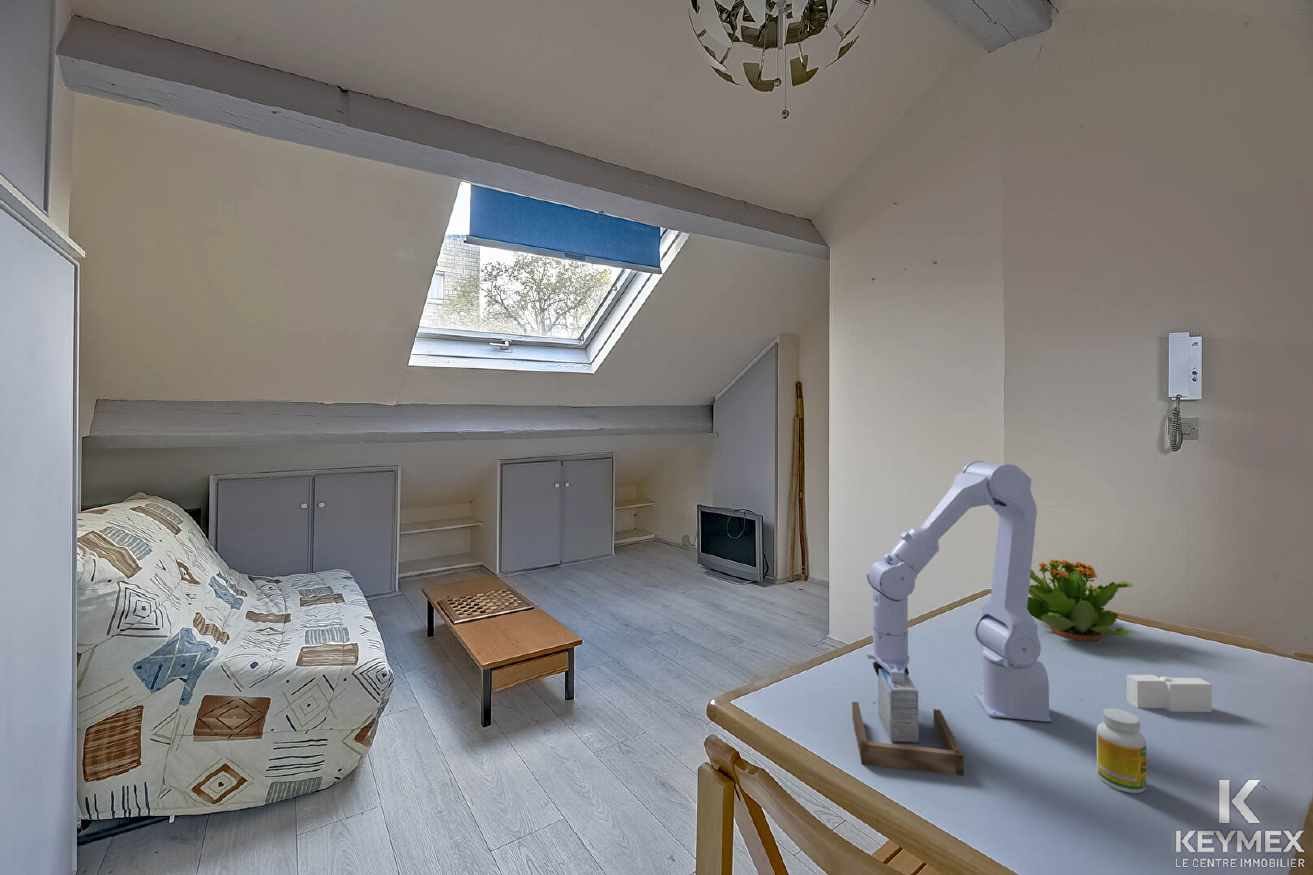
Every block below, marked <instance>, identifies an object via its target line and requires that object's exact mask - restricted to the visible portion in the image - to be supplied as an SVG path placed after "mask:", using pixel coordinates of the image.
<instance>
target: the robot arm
mask: <svg viewBox="0 0 1313 875" xmlns="http://www.w3.org/2000/svg"><path fill="white" fill-rule="evenodd" d="M1031 486H1032V478H1031V477H1030V476H1029V475H1028V474H1027V473H1026V472H1025V471H1024V470H1022V469H1021V468H1020V467H1019V466H1017V465H1015V464H1011V463H996V462H995V463H993V462H988V461H987V462H986V461H983V460H975V461H971V462H969V463H967V464H965V466H964V467H963V469H962V470H961V472H959V473H958V474H957V475H956V476H955V477H954V479H953V483H952V485H951V487H950V488H949V490H948V491H947V492H946V494H945V495H944V496H943V497H942V499H941V500H940V501H939V503H938V504H937V506H935V508H934V509H933V511H932V512H931V513H930V515H929V516H928V517H927V518H926V520H925V521H924V523H923V524H922V525H921V526H920V527H912V528H909V529H908V530H907V531H905V530H904V531H902V532H901V534H900V535H899V537H900V538H901V539H900V540H899V541H898V542H897V543H896V544H895V546H894V547H893V548H892V549H891V550H890V551H889V553H887V552H886V553H885V554H884V555H883V557H882V558H883V559H880V560H877V561H876V562H874V563H873V564H872V565H871V566H870V568H869V573H867V574H866V580H867V582H868V584H869V586H871V588H872V648H873V649H872V650H865V655H866V658H867V659H870V660H874V661H873V662H872V665H873V666H872V667H873V669H874V671H875V673H876V676H877V677H878V672H879V669H881V668H885V669H886V670H887V671H888V672H889V673H890V680H891V682H901V683H904V671H905V672H906V674H907V675H908V676H909V673H910V672H909V667H908V665H909V663H910V655H909V629H908V628H909V626H908V625H909V623H908V621H909V620H908V619H909V617H908V616H909V614H908V613H909V610H908V608H909V606H908V604H909V603H908V597H909V596H910V595H911V594H913V592H914V590H915V588H916V579H917V578H918V575H919V574H920V573H921V571H922V570H923V569H924V568H925V567H926V566H927V565H928V564H929V562H930V561H931V560H932V559H933V558H934V556H936V554H937V553H938V552H939V550H940V545H939V544H940V543H939V540H940V539H941V538H942V537H943V536H944V534H945V533H947V532H948V531H949V530H950V528H951V527H953V526H954V525H955V524H956V523H957V521H959V520H960V519H961V517H962V516H964V515H965V514H966V513H967V512H968V511H969V510H970V509H971V508H976V507H982V506H989V507H990V508H992V509H993V510H994V511H995V512H996V513H997V515H998V523H997V524H998V525H997V536H996V544H995V555H994V565H993V574H992V575H993V576H992V583H991V584H992V586H991V592H990V593H991V595H990V600H989V601H988V602H986V603H985V604H983V605H982V606H981V608H980V609H981V611H980V614H979V617H978V619H977V620H976V622H975V625H974V628H973V631H974V632H973V633H974V636H975V639H976V640H977V641H978V643H980V644H981V651H982V692H975V697H976V698H977V700H978V701H979V703H980V704H981V706H982V707H983V709H984V710H985V712H986V714H987V715H988V716H989V717H992V718H995V717H996V718H1003V719H1005V718H1006V719H1016V720H1025V721H1037V722H1048V723H1050V722H1052V719H1051V717H1050V684H1049V677H1048V672H1047V669H1046V667H1045V666H1044V664H1043V663H1042V661H1040V660H1038V659H1039V657H1040V655H1041V650H1042V648H1041V647H1042V646H1041V642H1040V640H1039V636H1038V628H1039V627H1038V623H1037V622H1036V620H1035V619H1034V617H1033V616H1032V615H1031V614H1030V613H1029V611H1028V609H1027V604H1028V597H1029V595H1030V594H1029V585H1031V584H1030V582H1031V578H1030V574H1031V570H1032V564H1033V553H1034V544H1035V543H1034V542H1035V535H1036V534H1035V532H1036V526H1037V524H1036V523H1037V513H1038V508H1037V505H1036V502H1035V499H1034V496H1033V494H1032V491H1031Z"/></svg>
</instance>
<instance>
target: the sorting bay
mask: <svg viewBox="0 0 1313 875" xmlns="http://www.w3.org/2000/svg"><path fill="white" fill-rule="evenodd" d="M851 702H852V703H851V706H852V707H851V709H852V711H851V712H852V717H851V718H852V723H853V727H854V734H855V737H856V743H857V748H858V752H859V758H860V761H861V762H860V763H861V764H862V765H868V766H869V765H871V766H879V767H886V768H887V767H888V768H894V769H904V770H910V771H911V770H912V771H921V772H928V773H937V774H944V775H945V774H947V775H953V776H954V775H955V776H962V777H964V776H965V775H964V754H963V751H962V750H961V747H960V746H959V744H958V742H957V740H956V738H955V736H954V735H953V733H952V730H951V729H950V726H949V725H948V723H947V721H946V719H945V717H944V715H943V713H942V710H941V709H937V708H935V709H933V728H934V730H935V733H936V735H937V738H939V741H940V743H941V745H942V748H943V749H940V748H934V747H923V746H913V745H905V744H896V743H888V742H878V741H871V740H870V741H869V740H868V738H867V733H866V729H865V725H864V721H863V716H862V712H861V708H860V707H861V706H860V704H859V702H858V701H851Z"/></svg>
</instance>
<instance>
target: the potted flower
mask: <svg viewBox="0 0 1313 875" xmlns="http://www.w3.org/2000/svg"><path fill="white" fill-rule="evenodd" d="M1038 566H1039V569H1038V571H1039V572H1041V573H1042V577H1039V576H1038V574H1036V573H1035V571H1034V570H1033V569H1031V574H1030V580H1032V581H1034V582H1035V584H1029V594H1028V595H1029V596H1028V604H1027V609H1028V611H1029V613H1030V614H1031V616H1032V618H1035V619H1036V620H1038V621H1041V622H1043V623H1044V624H1046V625H1048V626H1050V629H1051V631H1052V632H1054V634H1056V635H1058V636H1060V637H1063V638H1067V639H1071V640H1076V641H1087V642H1094V641H1098V640H1100V639H1101V638H1102V637H1103V635H1106V636H1130V635H1131V634H1130V633H1131V631H1129V630H1125V629H1123V627H1120V628H1116V629H1112V628H1107V627H1111V626H1112V625H1114V624H1115V622H1117V619H1118V617H1119V614H1118V613H1115V612H1114V611H1112V610H1105V606H1107V605H1108V603H1109V602H1110V601H1111V600H1113V598H1114V597H1115V595H1116V593H1117V592H1118V590H1119V589H1121V588H1131V587H1133V584H1132V583H1131V582H1128V581H1126V580H1124V581H1123V580H1122V581H1117V583H1116V582H1115V581H1112V582H1109V584H1108V585H1107V584H1106V585H1105V586H1103V585H1102V584H1100V585H1098V586H1097V587H1096V586H1093V585H1092V584H1091V583H1090V584H1089V585H1088V582H1094V581H1095V578H1098V574H1096V571H1095V569H1094V567H1093V566H1092V565H1089V564H1085V563H1082V562H1081V561H1076V562H1075V563H1073V562H1069V561H1068V560H1066V559H1064V558H1063V559H1062V561H1061V560H1058V559H1056V558H1053V559H1050V560H1049V562H1048V564H1047V563H1045V562H1041V563H1039V564H1038ZM1059 568H1060V569H1059ZM1063 569H1064V570H1063ZM1046 572H1049V574H1050V577H1051V578H1050V577H1048V580H1050V582H1049V583H1048V582H1047V580H1046V575H1045V574H1046ZM1051 584H1052V586H1050V585H1051ZM1052 587H1053V588H1052ZM1087 591H1088V594H1087ZM1104 610H1105V611H1104Z"/></svg>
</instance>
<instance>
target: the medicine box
mask: <svg viewBox="0 0 1313 875" xmlns="http://www.w3.org/2000/svg"><path fill="white" fill-rule="evenodd" d="M877 677H878V681H877V682H878V683H877V684H878V688H877V690H878V696H877V697H878V699H877V700H878V701H877V705H878V716H879V718H880V721H881V723H882V725H883V727H884V728H885V730H886V733H887V735H888V737H889V739H890V741H891V742H901V743H916V744H918V743H919V741H920V738H919V737H920V736H919V734H920V733H919V732H920V730H919V725H920V722H919V718H920V717H919V714H920V713H919V690H918V689H917V688H916V686H915V684H914V683H913V682H912V680H911V679H910V677H909V674H908V675H907V674H906V672H905V671H904V683H901V682H891V680H890V673H889V672H888V671H887V670H886V669H885V668H881V669H879V672H878V676H877Z"/></svg>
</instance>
